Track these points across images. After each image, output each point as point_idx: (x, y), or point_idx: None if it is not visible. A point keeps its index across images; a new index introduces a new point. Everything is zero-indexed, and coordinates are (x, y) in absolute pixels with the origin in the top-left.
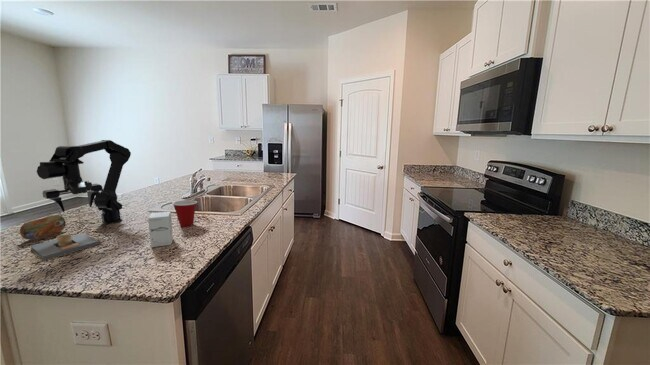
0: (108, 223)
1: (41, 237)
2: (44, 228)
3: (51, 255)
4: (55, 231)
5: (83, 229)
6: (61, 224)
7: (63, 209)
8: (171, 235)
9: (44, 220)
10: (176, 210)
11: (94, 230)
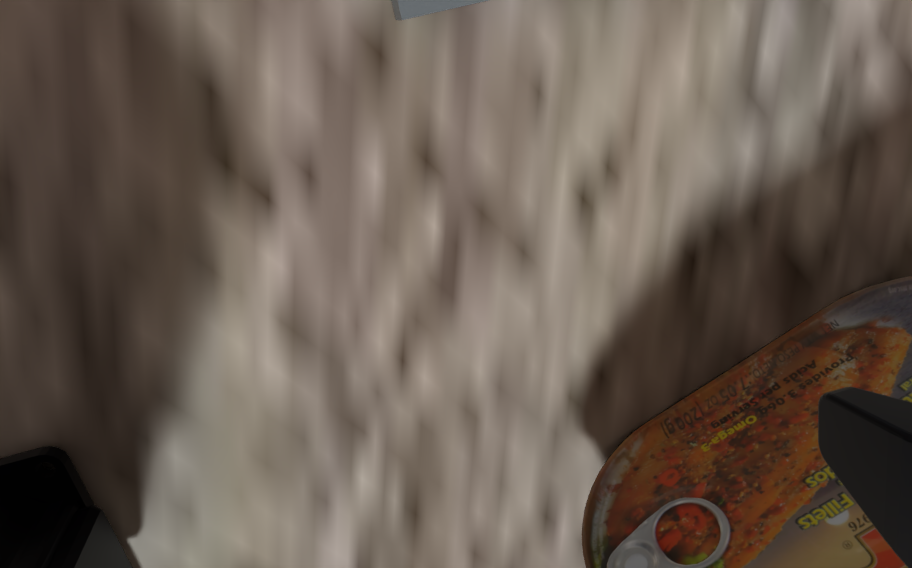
0: (44, 450)
1: (802, 333)
2: None
3: None
4: (671, 441)
5: (382, 389)
6: (630, 535)
7: (908, 418)
8: None
9: None
10: None
11: (245, 231)
